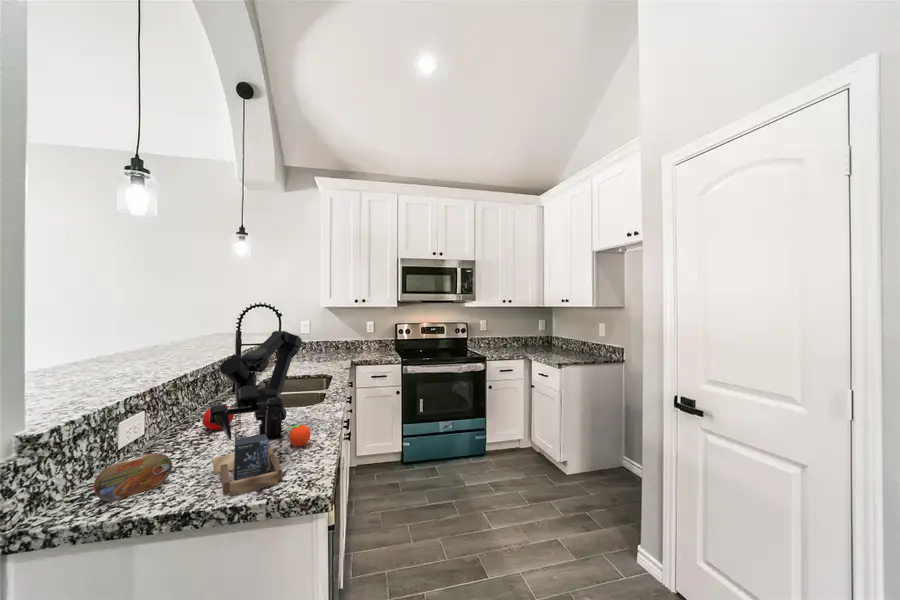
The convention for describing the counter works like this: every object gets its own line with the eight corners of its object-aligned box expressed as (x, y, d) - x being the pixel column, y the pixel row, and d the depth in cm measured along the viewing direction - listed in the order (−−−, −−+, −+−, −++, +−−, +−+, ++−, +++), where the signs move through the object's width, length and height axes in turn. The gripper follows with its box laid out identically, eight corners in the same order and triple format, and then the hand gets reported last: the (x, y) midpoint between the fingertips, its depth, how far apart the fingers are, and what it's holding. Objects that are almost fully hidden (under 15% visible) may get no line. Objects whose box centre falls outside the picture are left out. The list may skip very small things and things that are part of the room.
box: (234, 485, 95) (235, 445, 95) (233, 476, 100) (234, 438, 100) (267, 477, 99) (268, 439, 99) (265, 469, 104) (266, 433, 104)
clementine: (284, 451, 117) (284, 429, 117) (285, 443, 124) (285, 422, 124) (310, 448, 120) (311, 426, 120) (310, 440, 126) (310, 420, 127)
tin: (95, 508, 83) (96, 471, 83) (90, 503, 85) (92, 467, 85) (172, 481, 96) (173, 450, 96) (167, 478, 98) (168, 447, 98)
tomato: (197, 429, 135) (197, 407, 135) (225, 422, 144) (226, 401, 144) (209, 434, 130) (210, 411, 130) (238, 426, 139) (239, 405, 139)
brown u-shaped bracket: (273, 464, 107) (274, 454, 107) (283, 483, 96) (283, 471, 97) (220, 476, 100) (220, 465, 100) (223, 497, 89) (224, 485, 89)
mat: (270, 447, 120) (270, 447, 120) (277, 461, 110) (277, 460, 110) (212, 459, 110) (212, 458, 110) (214, 474, 100) (214, 473, 100)
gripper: (211, 377, 102) (211, 427, 92) (282, 371, 113) (289, 416, 103) (209, 399, 108) (209, 448, 99) (277, 391, 119) (282, 435, 110)
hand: (249, 436), depth 102 cm, fingers open, 9 cm apart
